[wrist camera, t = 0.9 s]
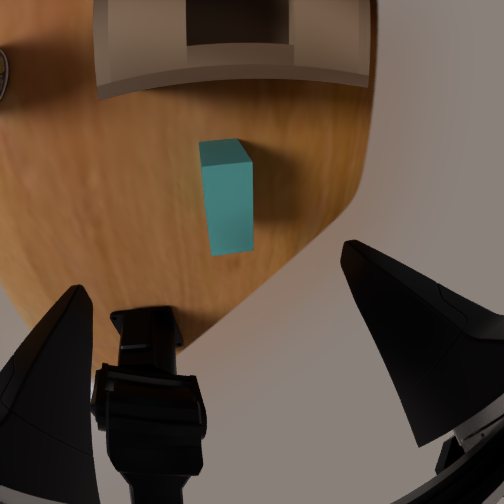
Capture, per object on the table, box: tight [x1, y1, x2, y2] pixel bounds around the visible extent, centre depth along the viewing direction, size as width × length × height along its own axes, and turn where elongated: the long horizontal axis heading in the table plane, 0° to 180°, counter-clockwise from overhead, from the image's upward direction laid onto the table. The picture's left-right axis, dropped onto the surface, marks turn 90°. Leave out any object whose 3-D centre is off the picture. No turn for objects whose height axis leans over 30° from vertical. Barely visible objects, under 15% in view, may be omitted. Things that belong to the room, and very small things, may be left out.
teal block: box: [199, 138, 253, 256], centre depth 16 cm, size 6×2×5 cm, turn 0°
